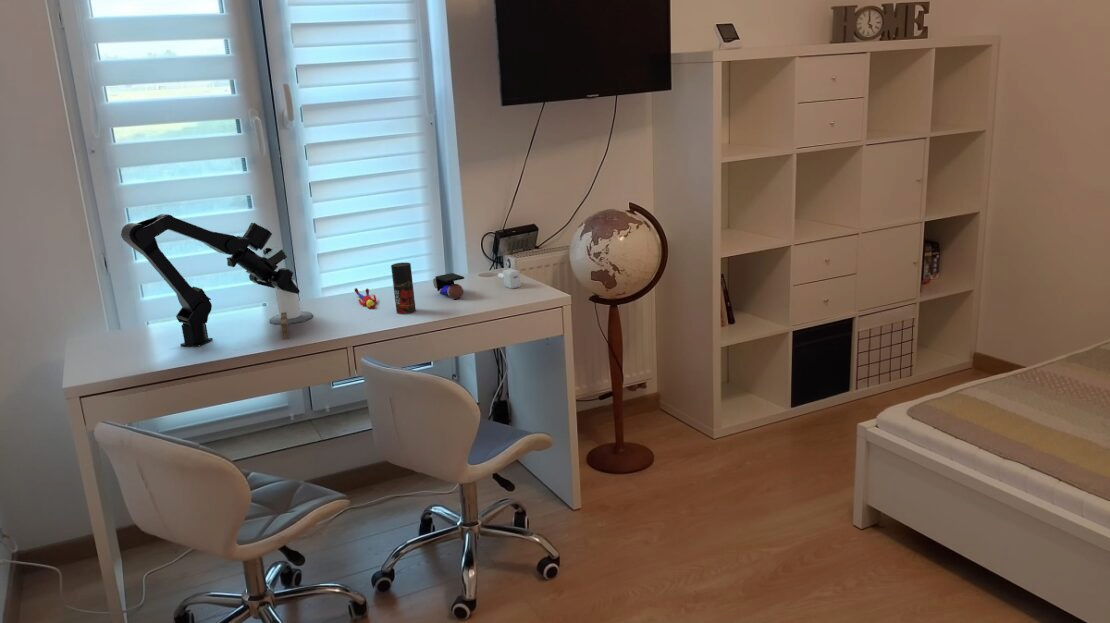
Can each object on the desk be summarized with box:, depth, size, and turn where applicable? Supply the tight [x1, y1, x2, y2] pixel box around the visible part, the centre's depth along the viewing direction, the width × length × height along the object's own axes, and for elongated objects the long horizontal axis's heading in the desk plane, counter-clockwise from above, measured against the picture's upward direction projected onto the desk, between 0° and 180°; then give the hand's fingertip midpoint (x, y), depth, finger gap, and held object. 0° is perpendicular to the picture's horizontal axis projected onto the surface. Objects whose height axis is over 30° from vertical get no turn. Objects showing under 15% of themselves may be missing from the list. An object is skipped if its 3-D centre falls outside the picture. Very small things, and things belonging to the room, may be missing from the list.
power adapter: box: [495, 268, 521, 290], centre depth 289 cm, size 11×5×6 cm, turn 32°
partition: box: [280, 312, 290, 340], centre depth 249 cm, size 14×2×4 cm, turn 17°
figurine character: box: [432, 272, 465, 300], centre depth 281 cm, size 7×8×15 cm
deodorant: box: [390, 262, 416, 315], centre depth 263 cm, size 6×6×15 cm
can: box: [274, 277, 302, 320], centre depth 264 cm, size 6×6×12 cm
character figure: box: [354, 287, 377, 310], centre depth 280 cm, size 6×4×20 cm
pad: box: [268, 310, 313, 326], centre depth 266 cm, size 13×13×1 cm
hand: (291, 290), depth 264 cm, fingers open, 9 cm apart
